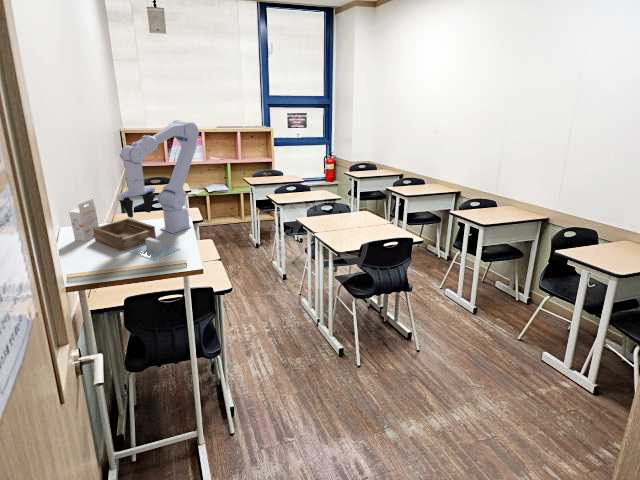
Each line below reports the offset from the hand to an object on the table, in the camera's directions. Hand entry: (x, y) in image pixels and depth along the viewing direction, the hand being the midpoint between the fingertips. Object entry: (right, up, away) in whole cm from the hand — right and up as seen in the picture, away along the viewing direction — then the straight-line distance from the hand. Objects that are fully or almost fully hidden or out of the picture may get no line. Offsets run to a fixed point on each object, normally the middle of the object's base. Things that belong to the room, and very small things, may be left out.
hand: (139, 214), depth 164 cm
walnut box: (-7, -10, +3) cm, 12 cm away
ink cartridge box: (-22, -9, +5) cm, 24 cm away
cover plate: (+8, -14, -5) cm, 17 cm away
